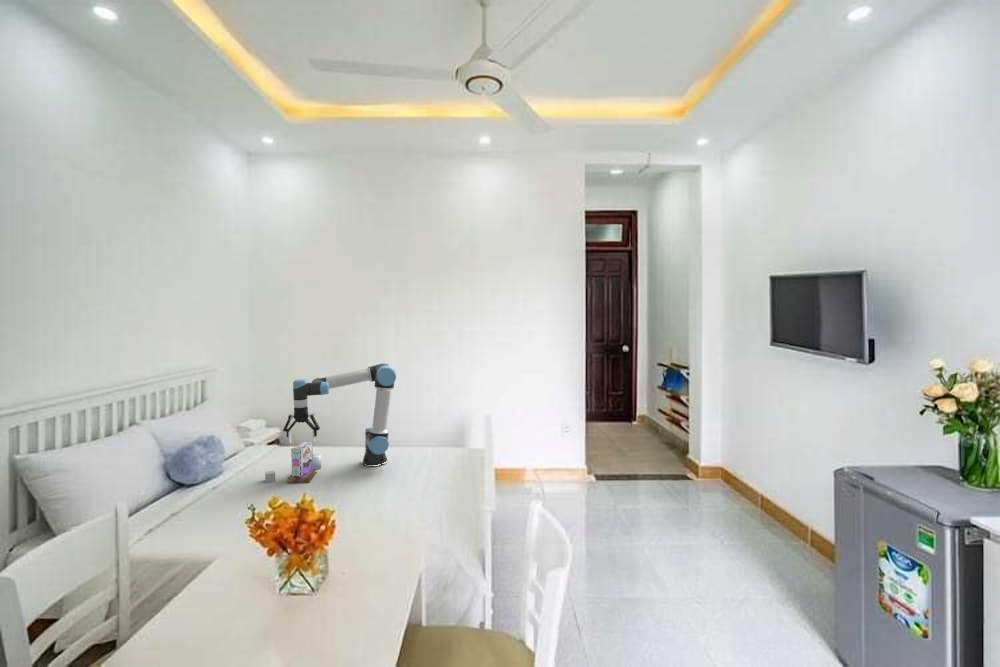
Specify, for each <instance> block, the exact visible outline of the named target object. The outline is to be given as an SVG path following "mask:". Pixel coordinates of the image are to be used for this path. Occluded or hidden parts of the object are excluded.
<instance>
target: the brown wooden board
mask: <svg viewBox="0 0 1000 667" xmlns="http://www.w3.org/2000/svg"><path fill="white" fill-rule="evenodd" d="M317 473H318V472H317V470H316V468H313V470H311V471H309V472H308V473H306V474H305V475H303V476H301V477H295V476H292V473H291V474H290V475H289V476H288V477H287V482H286V484H309V483H310V482H311V481H312V480H313V478H314V477H315V476H316V474H317Z"/></svg>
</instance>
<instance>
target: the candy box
mask: <svg viewBox="0 0 1000 667" xmlns="http://www.w3.org/2000/svg"><path fill="white" fill-rule="evenodd" d="M313 448H314V447H313V442H305V441H303V442H302V443H300V444H298V445H296V446H294V447H292V448H291V449H290V450H291V474H292V476H295V477H301V476H303V475H305V474H306V473H308V472H309V471H311V470H313V454H314V452H313Z"/></svg>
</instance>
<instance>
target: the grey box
mask: <svg viewBox="0 0 1000 667" xmlns="http://www.w3.org/2000/svg"><path fill="white" fill-rule="evenodd" d="M264 475H265V484H267V483H273V482H275V483H276V471H275V470H268V471H267V470H266V471H265V472H264Z"/></svg>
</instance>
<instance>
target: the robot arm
mask: <svg viewBox="0 0 1000 667" xmlns="http://www.w3.org/2000/svg"><path fill="white" fill-rule="evenodd" d="M396 379H397V373H396V370H395V369H394V368H393V367H392V366H390V364H388V363H379V364H375V365H372V366H368V367H366V368H364V369H360V370H359V369H358V370H354V371H350V372H345V373H340V374H335V375H332V376H331V375H330V376H326V377H316V378H313V379H312V381H311V382H308V381H307V379H305V378H304V379H303V378H302V379H295V380H294V381H293V382H292V383H293V384H292V391H293V392H292V393H293V394H292V396H293V406H294V407H293V414H289V415H288V417H287V420H286V423H285V425H284V427H283V430H282V431H283V432H286V438H288V444H292V431H291V430H292V428H293V427H294V426H295V424H296V423H298V424H299V423H302V424H303V423H305V424H307V425H308V427H310V429H312V444H313V443H314V444H315V442H316V437H317V436H318V431H319V430H320V429H321V427H320V425H319V422H317V420H316V419H315V414H314V413H311V414H309V406H308V405H309V404H308V402H309V400H308V397H310V396H324V395H328V394H329V393H330V389H335V388H340V387H345V386H346V387H347V386H349V385H355V384H359V383H363V382H364V383H366V382H370V383H373V382H374V386H373V387H374V388H375V389H376V392H375V393H376V394H375V401H374V409H373V410H374V411H373V418H372V426H371V427H370V426H369V427H366V428H365V431H364V434H365V439H364V440H365V441H364V442H365V452H364V455H363V458H362V464H366V465H378V464H382V463H384V462H386V461H387V462H388V457H387V454H386V451H388V449H389V445H390V443H389V433H390V431H389V430H388V419H389V410H390V404H391V401H390V400H391V393H392V390H393V389H395V388H394V387H395V382H396ZM292 419H294V421H293V422H292V423H291V420H292ZM311 421H312V422H311ZM290 423H291V425H290Z"/></svg>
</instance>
